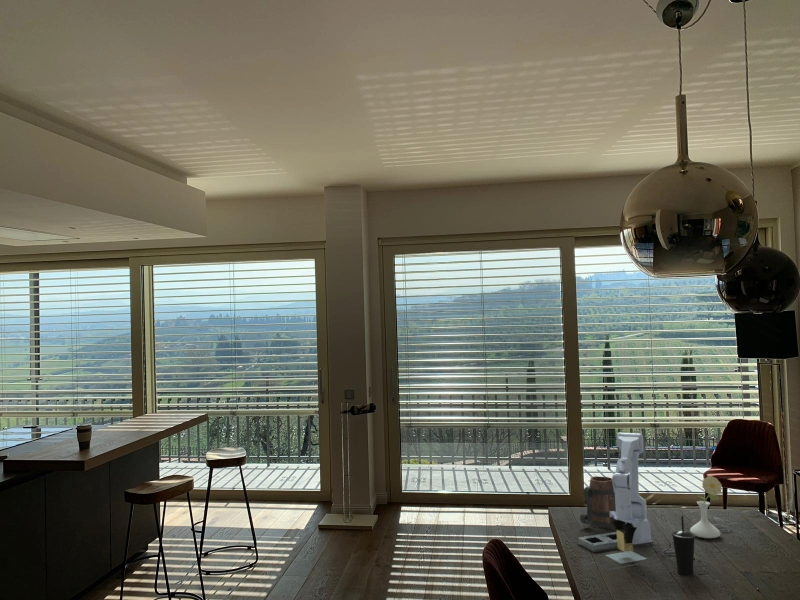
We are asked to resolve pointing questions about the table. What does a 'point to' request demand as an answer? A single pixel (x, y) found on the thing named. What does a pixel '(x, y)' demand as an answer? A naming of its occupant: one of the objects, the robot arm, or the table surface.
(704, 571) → the table surface
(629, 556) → the pale flat rectangular plate
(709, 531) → the flower in vase
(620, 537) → the beige rectangular block
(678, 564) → the drinking cup
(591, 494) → the tankard
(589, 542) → the grey socket tray
